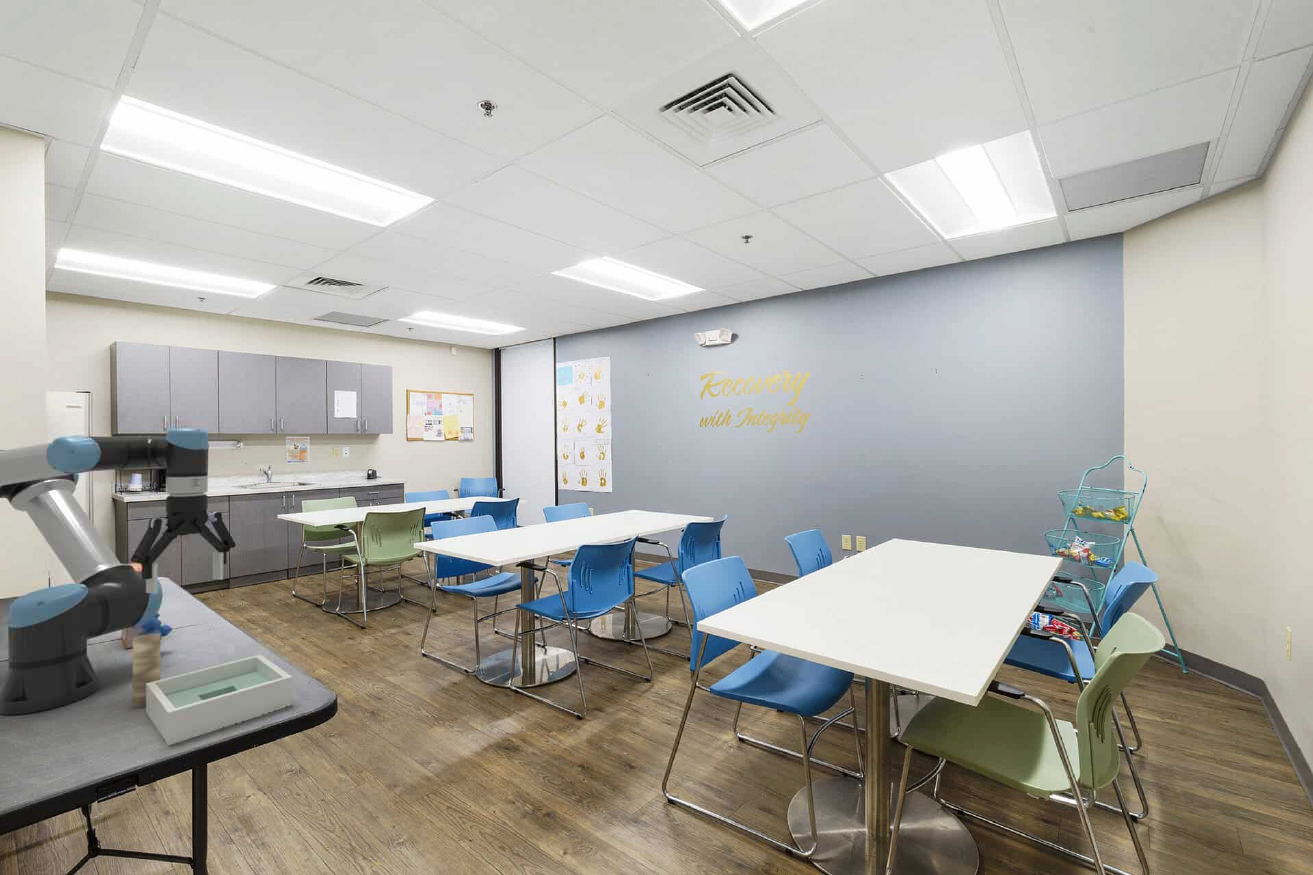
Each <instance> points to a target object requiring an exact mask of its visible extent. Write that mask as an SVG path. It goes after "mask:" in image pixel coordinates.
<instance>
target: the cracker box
mask: <svg viewBox="0 0 1313 875" xmlns="http://www.w3.org/2000/svg"><path fill="white" fill-rule="evenodd" d="M128 564H129V565H132V566H133V568H134V569H135V571H136V572H137V573H138V575H142V565H141V564H140V563H133V562H132V563H128ZM142 624H143V623H141V624H138V625H136V626H134V627H131V628H125V629H122V630H121V634H120V636H121V640H122V642H123V645H124V649H133V638H135V637H137V636H138V635H139V634H140V633H141V632H142V631H143V630H144V629H142V628H141V625H142Z"/></svg>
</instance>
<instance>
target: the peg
mask: <svg viewBox="0 0 1313 875" xmlns="http://www.w3.org/2000/svg"><path fill="white" fill-rule="evenodd" d="M160 644H161V640H160V634H159V633H151V634H145V635H140V636H137V637H135V638H133V648H132V707H133V708H143V707H145V708H146V683H150V682H153V681H157V680H161V645H160Z"/></svg>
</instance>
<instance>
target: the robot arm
mask: <svg viewBox="0 0 1313 875" xmlns="http://www.w3.org/2000/svg"><path fill="white" fill-rule="evenodd" d="M209 449H210V445H209V435H208V431H207V430H206V429H203V428H169V429H168V430H167V431H166V436H154V435H153V436H152V435H139V436H137V435H136V436H135V435H134V436H128V435H127V436H123V435H122V436H115V435H114V436H90V435H89V436H86V435H85V436H84V435H70V436H60V437H56V438H54V439H53V441H52V442H47V443H40V444H34V445H28V446H24V447H18V448H17V447H16V448H12V449H11V448H10V449H0V499H7V501H8V502H9V504H10V505H11V507H12V508H13V509H14V510H17V511H20V512H26V513H27V515H28V516H29V518H30V519H31V521H32V522H33V523H34V525H35V526H36V528H37V529H38V531H39V532H40V534H41V535H42V537H44V539H45V541H46V542H47V544H48V545H49V547H50V548H51V550H52V551H53V553H54V554H55V555H56V557H57V558H58V560H59V561H60V563H61V564H62V566H63V568H64V569H65V570H66V572H67V573H68V575H69V576H70V577H71V579H72V581H73V582H74V583H65V584H60V585H56V586H49V587H44V588H41V589H38V590H35V591H31V592H29V593H26V594H23V595H21V596H19V597H17V598H16V599H15V600H14V601H13V602H11V604H10V606H9V607H8V608H9V610H8V616H7V620H6V624H7V627H8V628H7V629H8V630H7V631H8V632H7V633H8V634H7V635H8V636H7V641H8V642H7V643H8V644H7V645H8V646H7V647H8V656H7V657H8V672H7V673H6V675H5V678H4V680H3V683H2V685H1V687H0V715H3V714H4V716H5V715H6V716H9V715H10V716H13V715H23V714H31V713H35V712H37V713H38V712H41V711H47V710H50V709H56V708H57V707H62V706H65V705H68V704H73V703H74V702H77V701H80V700H82V699H84V698H86V697H89V696H90V695H92V694H94V693H95V692H96V691H97V690H98V689H99V677H98V675H97V673H96V671H95V669H94V667H93V665H92V663H91V661H90V659H89V657H88V640H91V639H95V638H97V637H101V636H104V635H107V634H111V633H115V632H118V631H122V629H125V628H131V627H134V626H136V625H138V624H141V623H144V622H146V621H148V620H150V619H152V618H153V617H154V616H155V615H156V614H157V613H158V612H159V611H160V609H161V605H162V602H163V597H164V596H163V595H164V594H163V588H162V584H161V583H160V581H159V579H158V578H159V577H158V575H159V574H158V572H159V571H158V570H159V569H158V568H159V566H158V565H159V564H158V563H156V560H158V558H159V557H160V556H161V555H162V553H164V551H165V550H166V549H167V548H168V547H169V545H170V544H171V543H172V542H173V540H175V539H176V538H178V537H179V536H181V537H182V536H187V535H196V534H199V535H200V536H201V537H202V538H203V539H204V540H205V541H206V542H207V543H208V544H210V546H212V547H213V548H214V549H215V550H216V551H213V552H212V579H213V580H224V566H225V565H226V564H227V560H228V559H227V556H228V555H227V553H228V552H230V551H231V548H232V549H233V548H236V545H237V544H236V542H235V540H234V539H233V537H232V535H231V533H230V531H229V529H228V528H227V526H226V524H225V523H224V520H223V514H222V512H220V511H211V512H209V513H207V510H208V503H209V500H208V499H209V498H208V495H207V494H205V493H208V487H209V486H208V484H209V480H208V479H209V473H208V472H209ZM143 469H166V474H165V476H166V478H165V480H166V481H165V493H166V494H167V495H168V496H167V497H166V498H165V511H166V512H165V513H166V517H165V518H155V517H154V518H153V517H152V518H150V519H149V520H148V527H147V529H146V531H145V533H144V534H143V537H141V538H142V539H141V540H140V542H139V544H138V546H137V547H136V548H135V551H134V553H133V554H132V556H131V558H130V562H131V563H132V564H133V563H140V564H141V565H142V575H138V573H137V572H136V571H135V569H134V568H133V566H132V565H129V564H130V563H121V562H120V560H119V559H118V558H117V556H116V555H115V554H114V552H113V551H112V549H111V548H110V546H109V544H107V542H106V540H105V539H104V538H103V536H102V535H101V533H100V531H99V530H98V529H97V528H96V526H95V525H94V523H93V522H92V520H91V519H90V518H89V516H88V514H86V512H85V511H84V509H83V508H82V506H81V505H80V503H79V502H78V500H77V499H76V498H75V496H74V495H73V494H74V493H75V491H76V489H77V488H76V487H77V484H78V483H79V479H80V477H79V476H80V474H84V473H89V472H100V471H101V472H102V471H103V472H104V471H122V470H124V471H125V470H143ZM208 521H209V522H210V523H211V525H212V527H213V528H214V531H215V532H216V533H217V536H218V537H219V538H218V537H217V536H216V534H215V533H213V532H212V531H211V529H210V528H209V527H208V526H207V525H206V523H207V522H208ZM165 526H166V527H167V528H166V529H165V531H164V532H163V533H162V536H160V538H159V539H158V540H157V538H158V536H159V535H160V533H161V529H163V528H164V527H165ZM155 541H156V542H155ZM154 562H155V563H154Z"/></svg>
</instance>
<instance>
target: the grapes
mask: <svg viewBox="0 0 1313 875" xmlns="http://www.w3.org/2000/svg"><path fill="white" fill-rule="evenodd" d="M160 615H161V614H160V613H158V612H157V614H156V615H155V616H154V617H153V618H152V619H150V620H148V621H146V622H144V623H143V624H142V625H141V628H142V629H144V630H143V631H142V632H141V633H140V634H139V635H138V636H140V635H145V634H151V633H159V634H160V641H162V638H163V637H166V636H169V634H170V633H171V632H172V631H173V628H172V627H171V626H170V625H168V624H162V621H161V620H159V617H160ZM161 645H162V643H160V646H161Z"/></svg>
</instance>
